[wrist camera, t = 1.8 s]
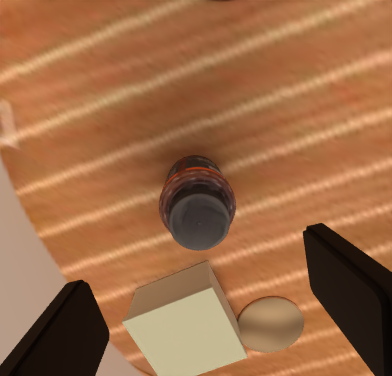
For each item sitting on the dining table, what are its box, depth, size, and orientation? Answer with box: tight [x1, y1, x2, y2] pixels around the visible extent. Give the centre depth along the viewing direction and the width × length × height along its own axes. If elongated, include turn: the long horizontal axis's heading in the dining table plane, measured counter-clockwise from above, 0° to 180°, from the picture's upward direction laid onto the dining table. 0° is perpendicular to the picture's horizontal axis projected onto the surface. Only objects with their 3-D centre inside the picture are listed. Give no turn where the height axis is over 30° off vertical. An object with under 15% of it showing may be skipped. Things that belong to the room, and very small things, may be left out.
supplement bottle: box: [159, 156, 236, 250], centre depth 20 cm, size 6×6×11 cm
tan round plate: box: [237, 296, 304, 353], centre depth 30 cm, size 9×9×1 cm
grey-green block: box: [122, 261, 248, 376], centre depth 27 cm, size 10×10×5 cm
